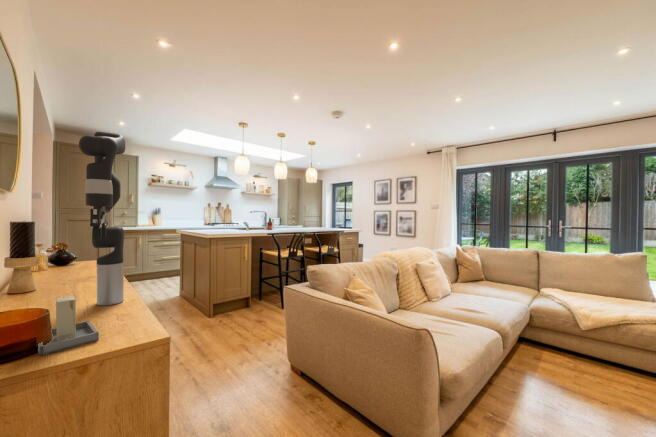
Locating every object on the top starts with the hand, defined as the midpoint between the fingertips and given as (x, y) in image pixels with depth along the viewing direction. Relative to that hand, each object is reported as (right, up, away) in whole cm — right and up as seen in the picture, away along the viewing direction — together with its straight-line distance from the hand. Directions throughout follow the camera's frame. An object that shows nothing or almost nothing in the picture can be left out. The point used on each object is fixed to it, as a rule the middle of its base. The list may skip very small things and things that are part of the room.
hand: (99, 238), depth 99 cm
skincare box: (+2, -30, -14) cm, 33 cm away
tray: (+2, -30, -14) cm, 34 cm away
